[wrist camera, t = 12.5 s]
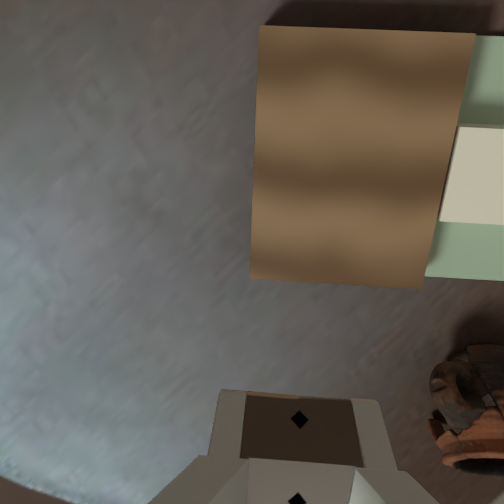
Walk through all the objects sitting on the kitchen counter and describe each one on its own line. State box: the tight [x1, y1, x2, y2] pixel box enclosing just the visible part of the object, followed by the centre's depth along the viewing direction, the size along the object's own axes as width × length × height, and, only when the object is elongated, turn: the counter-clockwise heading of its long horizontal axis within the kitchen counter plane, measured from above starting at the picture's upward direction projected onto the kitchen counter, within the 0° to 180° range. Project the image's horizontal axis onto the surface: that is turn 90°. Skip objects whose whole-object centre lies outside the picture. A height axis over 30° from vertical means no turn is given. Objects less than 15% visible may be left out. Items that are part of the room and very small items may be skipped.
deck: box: [250, 25, 476, 289], centre depth 30 cm, size 16×12×2 cm
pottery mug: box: [428, 344, 504, 477], centre depth 35 cm, size 12×10×8 cm
